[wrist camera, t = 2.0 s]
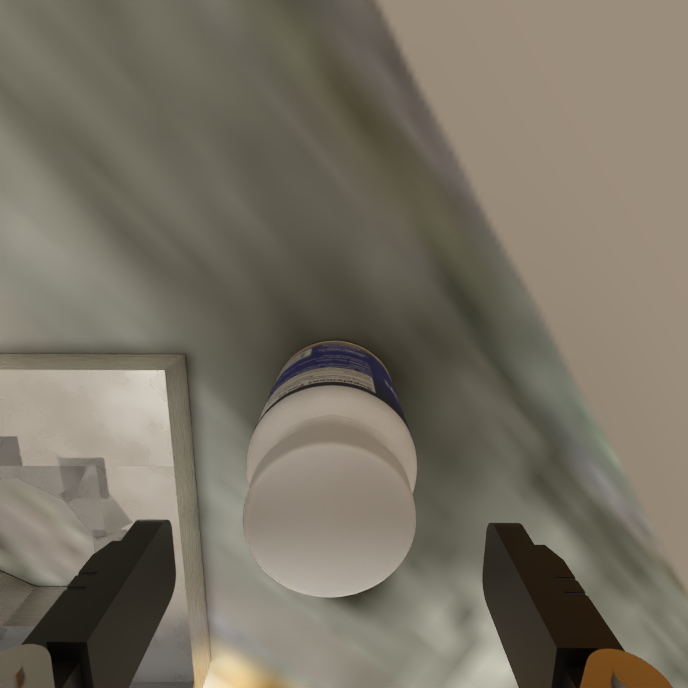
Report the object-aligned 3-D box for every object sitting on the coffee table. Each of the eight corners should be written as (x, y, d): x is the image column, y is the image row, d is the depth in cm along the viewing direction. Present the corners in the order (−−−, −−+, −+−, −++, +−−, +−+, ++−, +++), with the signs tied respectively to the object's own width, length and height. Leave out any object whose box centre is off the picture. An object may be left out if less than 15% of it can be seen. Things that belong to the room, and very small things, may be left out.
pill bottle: (393, 448, 22) (432, 615, 13) (278, 450, 22) (228, 618, 13) (395, 335, 21) (440, 426, 11) (271, 337, 21) (211, 429, 11)
